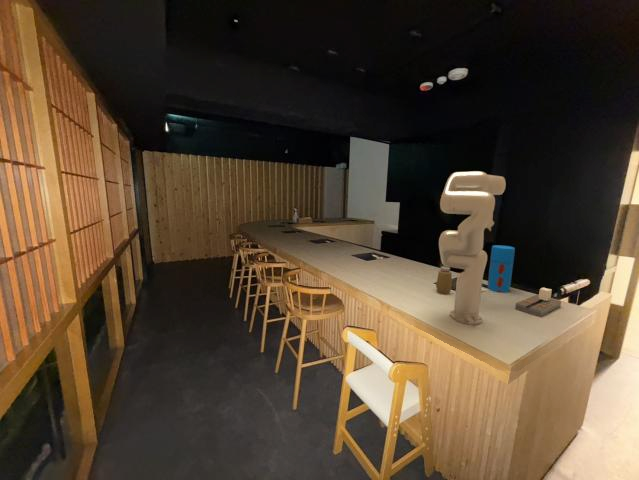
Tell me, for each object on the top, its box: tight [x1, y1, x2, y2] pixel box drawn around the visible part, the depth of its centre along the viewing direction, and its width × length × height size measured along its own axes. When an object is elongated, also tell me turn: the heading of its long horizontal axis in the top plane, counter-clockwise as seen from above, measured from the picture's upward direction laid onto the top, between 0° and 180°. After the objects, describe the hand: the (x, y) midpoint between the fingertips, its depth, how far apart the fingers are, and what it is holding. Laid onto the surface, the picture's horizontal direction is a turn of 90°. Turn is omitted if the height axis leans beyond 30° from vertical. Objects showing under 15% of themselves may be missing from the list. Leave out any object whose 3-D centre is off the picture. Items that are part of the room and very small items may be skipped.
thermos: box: [487, 244, 516, 294], centre depth 153 cm, size 11×11×25 cm
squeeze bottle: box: [435, 264, 453, 295], centre depth 148 cm, size 8×8×18 cm
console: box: [514, 294, 562, 318], centre depth 129 cm, size 22×10×3 cm, turn 121°
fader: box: [538, 287, 553, 302], centre depth 132 cm, size 4×3×6 cm
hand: (479, 239), depth 134 cm, fingers open, 9 cm apart
